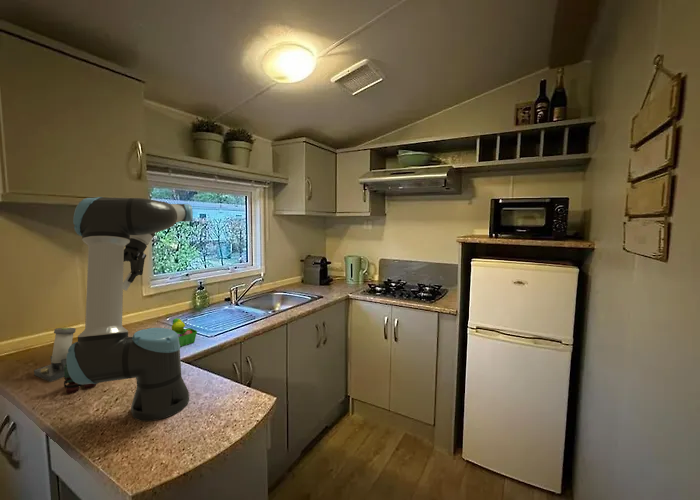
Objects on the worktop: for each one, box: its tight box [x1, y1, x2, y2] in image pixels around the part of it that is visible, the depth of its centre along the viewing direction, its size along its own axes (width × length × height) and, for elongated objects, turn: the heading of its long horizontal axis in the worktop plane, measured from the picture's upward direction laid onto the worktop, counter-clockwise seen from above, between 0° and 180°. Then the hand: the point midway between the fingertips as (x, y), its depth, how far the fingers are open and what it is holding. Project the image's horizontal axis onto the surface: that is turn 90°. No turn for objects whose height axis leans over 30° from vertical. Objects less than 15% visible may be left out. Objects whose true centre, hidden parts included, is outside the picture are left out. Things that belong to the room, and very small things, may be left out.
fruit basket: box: [171, 317, 198, 347], centre depth 146 cm, size 11×9×11 cm
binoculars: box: [63, 364, 97, 395], centre depth 109 cm, size 9×11×10 cm
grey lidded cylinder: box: [50, 327, 77, 363], centre depth 121 cm, size 6×6×12 cm
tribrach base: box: [33, 355, 67, 383], centre depth 120 cm, size 11×11×6 cm
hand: (110, 286), depth 132 cm, fingers open, 13 cm apart
